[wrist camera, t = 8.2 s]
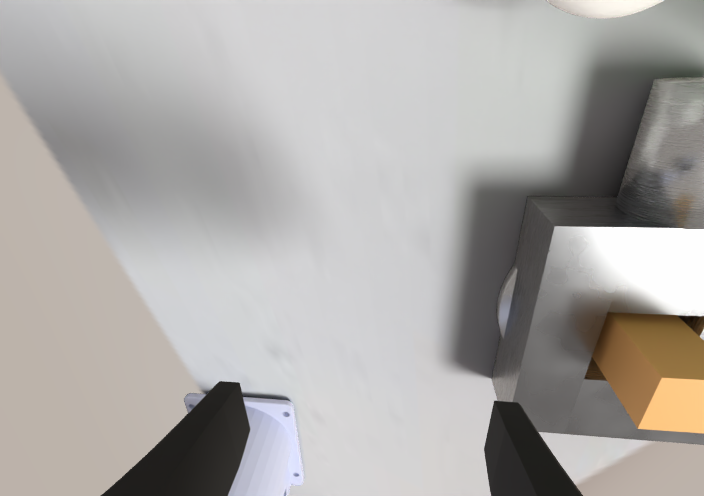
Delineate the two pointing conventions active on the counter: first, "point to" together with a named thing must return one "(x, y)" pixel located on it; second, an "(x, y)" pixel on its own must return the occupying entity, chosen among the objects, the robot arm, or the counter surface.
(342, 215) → the counter surface
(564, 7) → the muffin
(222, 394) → the robot arm
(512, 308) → the grey slotted block
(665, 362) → the orange rectangular block
